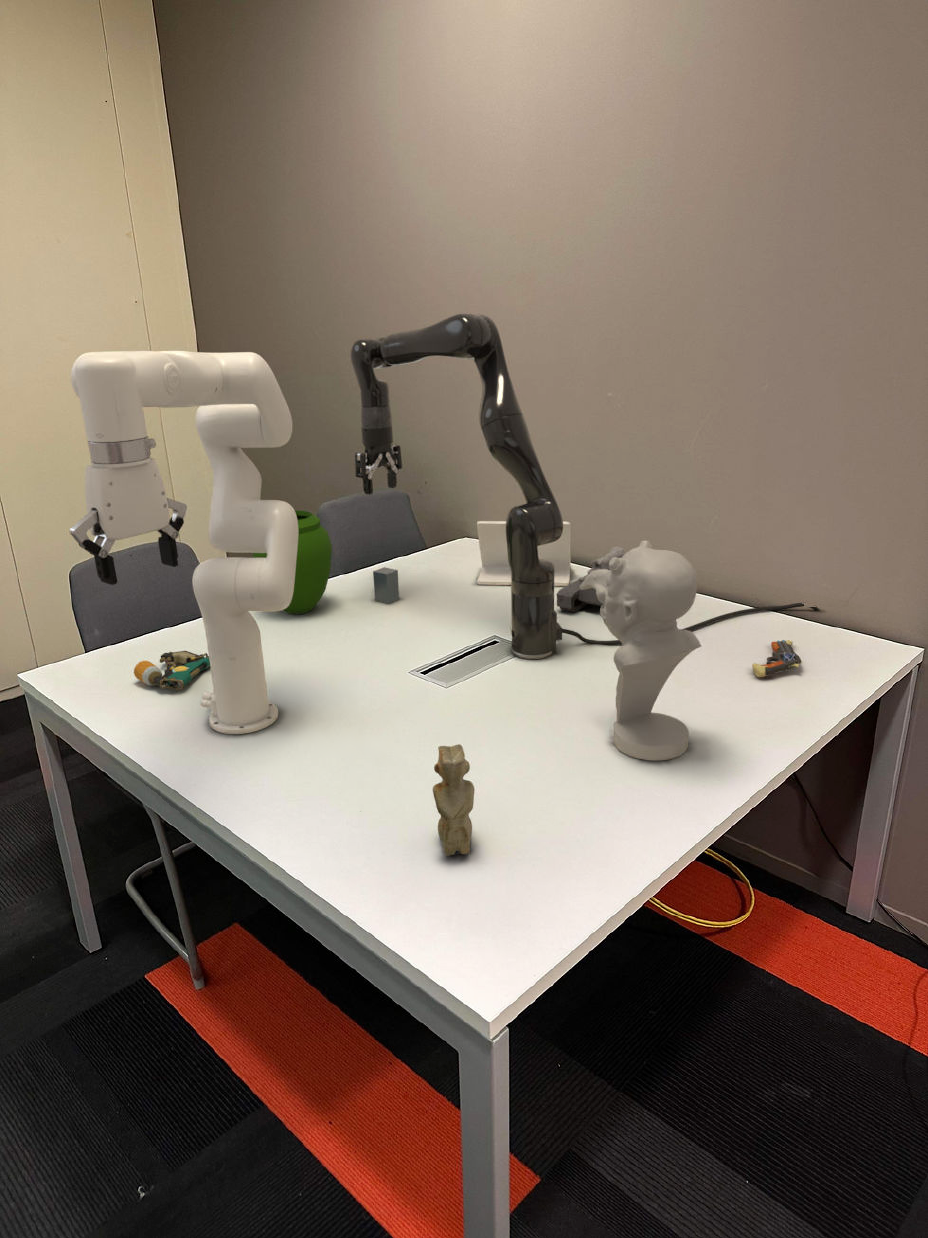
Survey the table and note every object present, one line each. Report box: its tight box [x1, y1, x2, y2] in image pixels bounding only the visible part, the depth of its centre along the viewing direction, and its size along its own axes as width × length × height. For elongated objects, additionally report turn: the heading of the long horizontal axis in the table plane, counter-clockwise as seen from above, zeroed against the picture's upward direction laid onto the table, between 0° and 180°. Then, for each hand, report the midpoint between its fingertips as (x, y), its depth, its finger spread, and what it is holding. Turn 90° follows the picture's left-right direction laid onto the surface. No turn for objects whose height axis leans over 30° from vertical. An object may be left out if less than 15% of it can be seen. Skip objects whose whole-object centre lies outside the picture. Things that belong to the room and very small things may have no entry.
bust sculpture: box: [579, 540, 702, 761], centre depth 146 cm, size 16×24×35 cm
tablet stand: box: [476, 520, 572, 587], centre depth 236 cm, size 18×25×17 cm
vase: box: [252, 510, 333, 615], centre depth 213 cm, size 20×20×24 cm
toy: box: [556, 546, 626, 613], centre depth 212 cm, size 25×20×15 cm
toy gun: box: [751, 639, 804, 678], centre depth 178 cm, size 3×19×10 cm
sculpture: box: [432, 743, 475, 856], centre depth 119 cm, size 6×7×15 cm
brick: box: [372, 566, 400, 605], centre depth 222 cm, size 4×5×8 cm
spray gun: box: [133, 650, 210, 690], centre depth 180 cm, size 4×17×15 cm
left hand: (140, 573), depth 121 cm, fingers open, 9 cm apart
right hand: (380, 490), depth 213 cm, fingers open, 8 cm apart
